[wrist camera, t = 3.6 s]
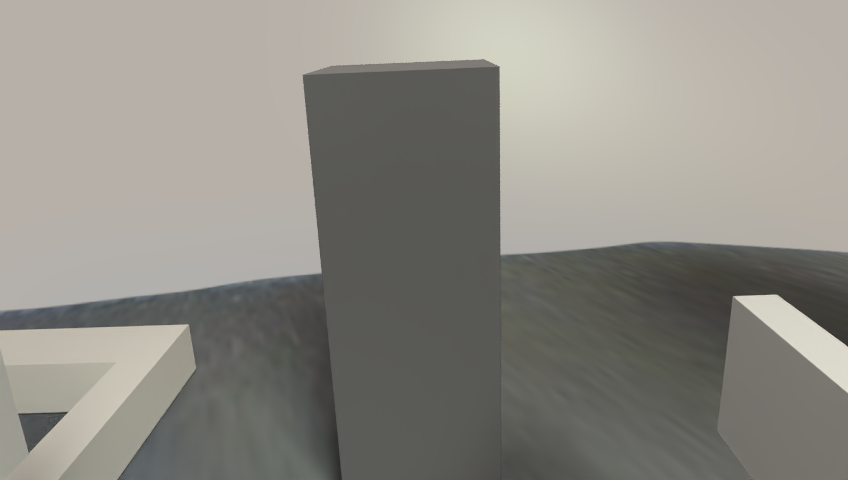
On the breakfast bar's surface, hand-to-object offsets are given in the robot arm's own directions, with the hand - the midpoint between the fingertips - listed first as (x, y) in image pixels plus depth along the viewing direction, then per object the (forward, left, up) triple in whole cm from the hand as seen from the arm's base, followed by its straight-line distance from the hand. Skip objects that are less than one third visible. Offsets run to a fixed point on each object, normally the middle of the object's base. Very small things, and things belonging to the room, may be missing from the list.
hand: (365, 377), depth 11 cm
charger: (-1, -7, -7) cm, 10 cm away
